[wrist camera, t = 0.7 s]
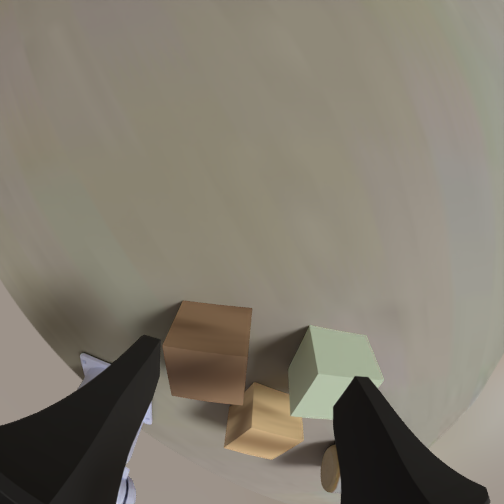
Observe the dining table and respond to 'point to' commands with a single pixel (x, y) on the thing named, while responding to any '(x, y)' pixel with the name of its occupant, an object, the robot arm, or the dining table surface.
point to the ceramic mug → (331, 471)
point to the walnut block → (208, 352)
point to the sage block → (328, 370)
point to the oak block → (263, 424)
